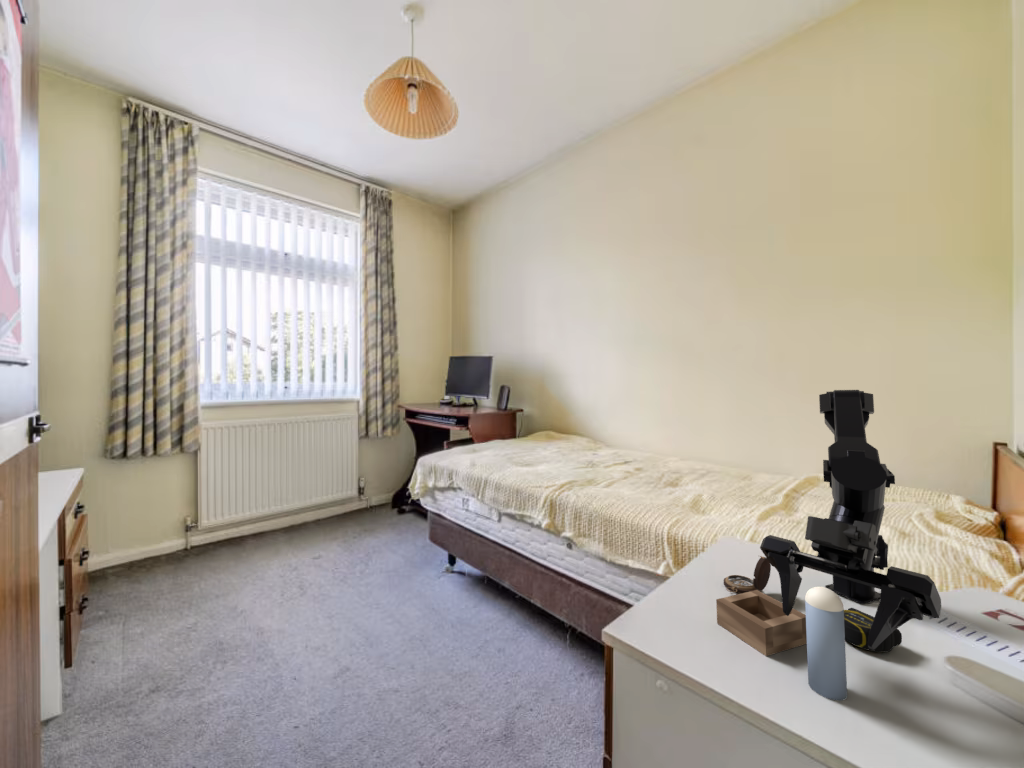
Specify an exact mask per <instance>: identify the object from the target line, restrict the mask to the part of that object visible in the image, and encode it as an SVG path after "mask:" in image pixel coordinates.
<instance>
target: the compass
mask: <svg viewBox="0 0 1024 768" xmlns="http://www.w3.org/2000/svg"><path fill="white" fill-rule="evenodd" d="M759 557H760V558H759V559H758V560H757V562H756V565H755V567H754V571H753V577H754V578H749V576H745V575H740V574H731V575H729V576H726V577H724V578H723V585H724V586H725V588H726V591H727V592H730V593H737V594H741V593H746V592H750V591H754V590H758V591H760V592H762V591H763V590H765V588H766V587H767V585H768V583H769V580H770V577H771V571H772V570H771V569H772V567H771V566H772V565H771V564H770V562H769V561H768V559H767V558H766V556H762V555H759Z"/></svg>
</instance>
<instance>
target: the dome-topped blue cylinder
mask: <svg viewBox="0 0 1024 768" xmlns="http://www.w3.org/2000/svg"><path fill="white" fill-rule="evenodd" d="M804 603H805V604H804V606H805V615H806V635H807V644H806V652H807V653H806V655H807V682H808V683H807V684H808V686H809V687H810V689H811V690H812V691H813V692H814V693H816V694H817V695H820V696H822V697H823V698H826V699H828V700H831V701H832V700H833V701H844V700H847V698H848V686H847V685H848V684H847V681H848V680H847V678H848V677H847V660H846V659H847V657H846V655H847V654H846V653H847V652H846V640H845V628H844V610H845V608H844V607H845V606H844V603H843V601H842V598H840V596H839V594H837V593H835V592H833V591H832V590H830V589H828V588H825V586H814V587H811V588H809V589H808V590H807V591H806V593H805V596H804Z"/></svg>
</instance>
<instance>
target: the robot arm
mask: <svg viewBox="0 0 1024 768" xmlns="http://www.w3.org/2000/svg"><path fill="white" fill-rule="evenodd" d="M818 395H819V397H818V398H819V401H818V402H819V414H820V415H821V414H823V415H824V417H823V418H824V424H825V425H826V427H827V428H828V429H829V431H830V432H831V433H832V434H833V436H834V442H833V443H831V445H829V446H827V452H828V453H827V454H828V455H827V456H828V459H823V460H822V462H823V463H822V465H823V469H822V470H823V482H825V483H828V484H829V488H831V494H832V499H833V503H832V506H831V509H830V512H829V516H828V518H821V517H817V516H811V515H809V516H807V521H806V522H807V523H806V529H805V535H804V539H805V541H811V545H810V547H811V549H812V550H813V551H814V552H817V555H815V554H810V553H807V552H804V551H803V552H802V551H801V550H800V549H799V547H798V545H797V543H796V542H795V540H791V539H787V538H783V537H779V536H776V535H771V534H769V535H768V536H765V537H764V538H762V541H761V544H760V546H759V549H760V550H761V552H762V553H763V555H764V557H766V558H767V559H768V561H769V562H770V564H771V566H772V567H774V568H775V570H776V571H777V572H778V576H779V581H780V592H781V603H782V606H783V612H784V614H785V615H787V616H789V614H790V612H791V610H792V609H794V606H795V602H796V598H797V596H798V592H799V590H800V586H801V583H802V580H803V578H802V576H801V575H800V573H802V572H803V570H804V568H808V569H811V570H815V571H818V572H821V573H825V574H827V575H831V576H832V583H831V584H827V585H825V586H824V587H825V588H828V589H830V590H832V591H833V592H835V593H836V594H837V595H838V596H839V595H840V596H842V597H845V598H847V599H849V600H852V601H854V602H856V603H859V604H862V605H866V604H868V603H872V602H875V601H879V603H878V606H877V609H876V611H875V614H874V616H873V617H874V620H873V623H872V626H871V629H870V632H869V638H868V647H869V648H870V649H872V650H874V649H875V648H876V647H877V646H878V645H879V644H881V643H882V642H883V641H884V640H885V639H886V638H887V637H888V636H889V635H890V634H891V633H892V632H893V631H894V630H896V629H898V628H900V627H901V626H903V625H904V624H907V622H909V621H910V620H912V619H915V620H919V621H923V620H924V617H925V616H926V617H929V618H932V619H940V617H941V610H942V598H941V595H940V593H939V591H938V588H937V586H936V583H935V582H934V580H933V579H932V578H931V577H930V576H929V575H927V574H923V573H920V572H915V571H911V570H907V569H904V568H899V567H896V566H893V565H890V566H888V565H889V564H888V553H889V545H888V543H887V542H885V540H884V538H883V534H882V535H881V534H880V529H881V525H882V521H883V516H884V513H885V508H886V507H885V505H884V504H885V498H886V497H885V495H886V488H887V489H888V488H889V489H890V488H891V485H896V479H895V474H894V473H893V472H892V471H890V469H888V466H887V464H886V463H882V462H881V460H880V455H879V450H878V449H877V448H876V447H874V446H873V445H871V444H870V443H868V441H867V440H868V439H867V433H866V428H867V426H868V424H869V420H870V415H874V413H875V403H874V399H875V398H874V394H873V393H869V392H865V391H864V390H860V389H834V390H833V391H826V393H820V394H818ZM885 568H887V572H886V574H885V573H879V572H875V569H879V570H882V571H884V569H885ZM875 589H878V590H880V592H878V591H876V590H875Z"/></svg>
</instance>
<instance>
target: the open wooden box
mask: <svg viewBox="0 0 1024 768" xmlns="http://www.w3.org/2000/svg"><path fill="white" fill-rule="evenodd" d="M716 624H717V625H719V626H720V627H722V628H723V629H724V630H725V631H727V632H729V633H731V634H732V635H734V636H735V637H737V638H739V640H741V641H743V642H745V643H746V644H747V645H749V646H750V647H752V648H753V649H755V650H756V651H757V652H759V653H760V654H762V655H764V656H765V657H768V656H771V655H774V654H778V653H781V652H784V651H787V650H791V649H794V648H798V647H800V646H804V645H807V635H806V613H805V614H804V613H802V612H800V611H799V610H797V609H795V608H793V609H792V610H791V612H790V614H789V616H787V615H785V614H784V612H783V606H782V601H779V600H777V599H775V598H774V597H772V596H770V595H768V594H766V593H764V592H762V591H760V590H759V591H758V590H754V591H750V592H746V593H737V594H734V595H729V596H724V597H721V598H716Z"/></svg>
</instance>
